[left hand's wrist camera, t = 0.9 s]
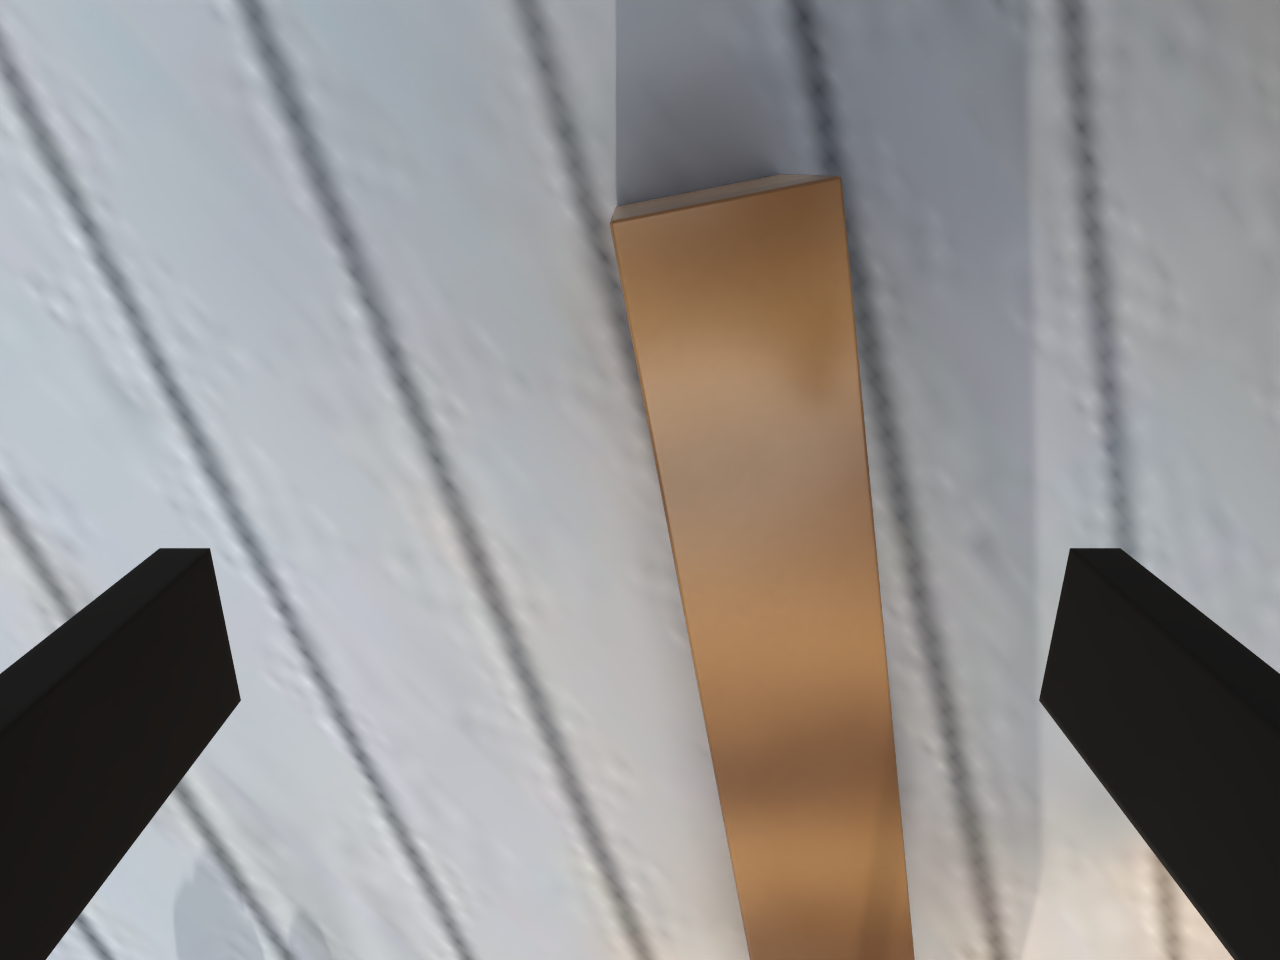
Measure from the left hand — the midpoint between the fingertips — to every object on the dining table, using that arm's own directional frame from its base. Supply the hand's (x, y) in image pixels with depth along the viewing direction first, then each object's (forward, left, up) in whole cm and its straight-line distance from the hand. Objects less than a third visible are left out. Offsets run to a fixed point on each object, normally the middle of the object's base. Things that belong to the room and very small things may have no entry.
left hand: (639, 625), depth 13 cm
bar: (-6, +30, -17) cm, 35 cm away
